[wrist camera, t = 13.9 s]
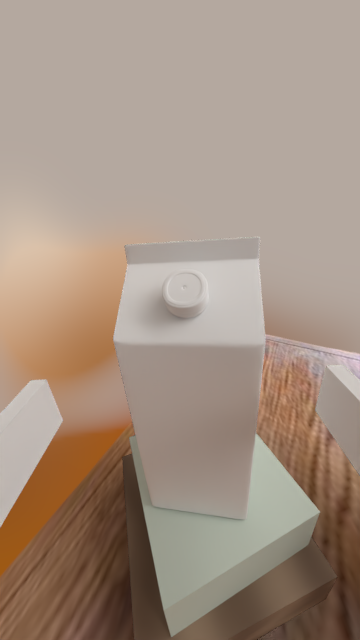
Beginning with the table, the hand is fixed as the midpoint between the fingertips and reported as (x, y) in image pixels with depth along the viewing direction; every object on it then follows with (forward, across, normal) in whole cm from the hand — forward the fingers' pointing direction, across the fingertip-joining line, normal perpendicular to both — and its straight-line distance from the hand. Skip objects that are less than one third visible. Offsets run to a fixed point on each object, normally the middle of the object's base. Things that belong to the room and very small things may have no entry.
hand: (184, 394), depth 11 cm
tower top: (+4, +1, -17) cm, 18 cm away
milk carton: (+4, +1, -12) cm, 13 cm away
